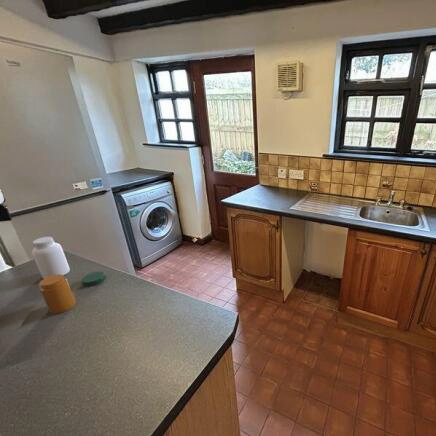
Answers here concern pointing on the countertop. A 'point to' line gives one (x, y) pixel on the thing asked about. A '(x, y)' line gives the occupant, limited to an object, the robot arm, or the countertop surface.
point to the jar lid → (93, 278)
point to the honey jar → (57, 294)
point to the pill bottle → (49, 257)
